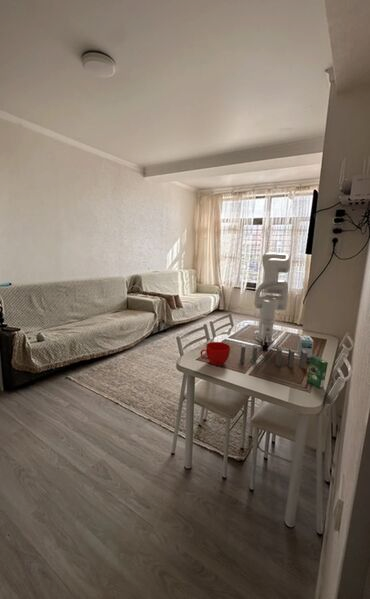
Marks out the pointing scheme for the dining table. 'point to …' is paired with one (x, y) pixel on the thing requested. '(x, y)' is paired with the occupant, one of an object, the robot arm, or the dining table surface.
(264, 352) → the domino
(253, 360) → the domino
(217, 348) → the ceramic cup
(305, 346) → the light bulb box
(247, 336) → the dining table surface
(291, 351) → the domino
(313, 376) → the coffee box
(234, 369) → the dining table surface
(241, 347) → the domino
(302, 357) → the domino
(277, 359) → the domino
